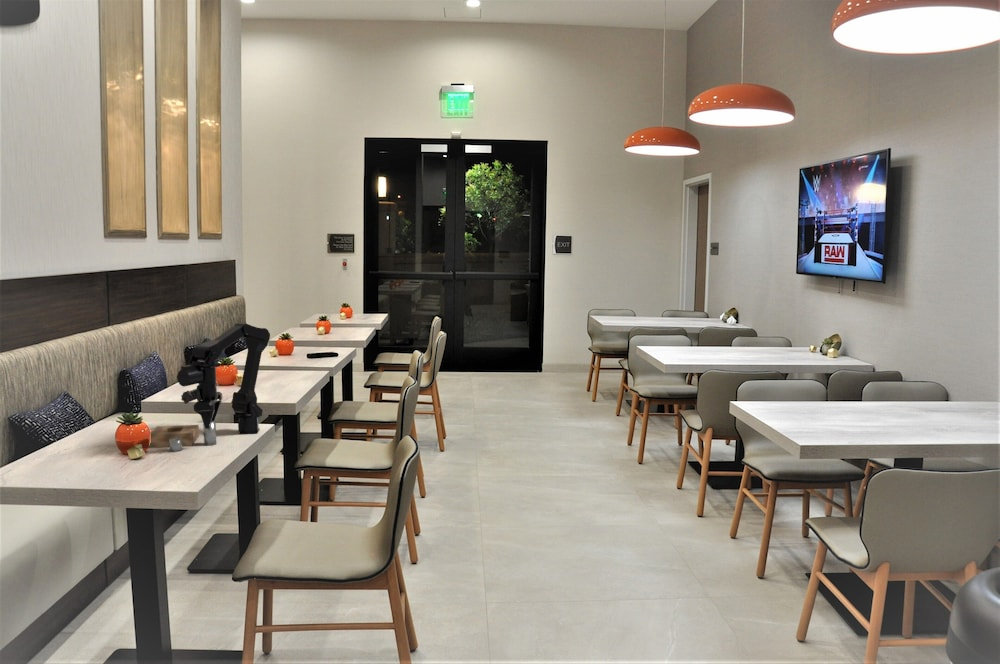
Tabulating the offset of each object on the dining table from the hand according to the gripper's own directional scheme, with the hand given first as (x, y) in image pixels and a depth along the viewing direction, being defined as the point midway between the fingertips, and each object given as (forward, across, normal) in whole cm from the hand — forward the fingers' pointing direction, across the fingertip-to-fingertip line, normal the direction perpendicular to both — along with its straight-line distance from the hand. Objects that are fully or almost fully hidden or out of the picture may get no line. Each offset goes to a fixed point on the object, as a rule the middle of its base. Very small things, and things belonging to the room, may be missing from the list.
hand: (209, 425), depth 267 cm
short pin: (+7, +6, -10) cm, 14 cm away
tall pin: (+7, 0, 0) cm, 7 cm away
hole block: (+7, -5, -13) cm, 16 cm away
